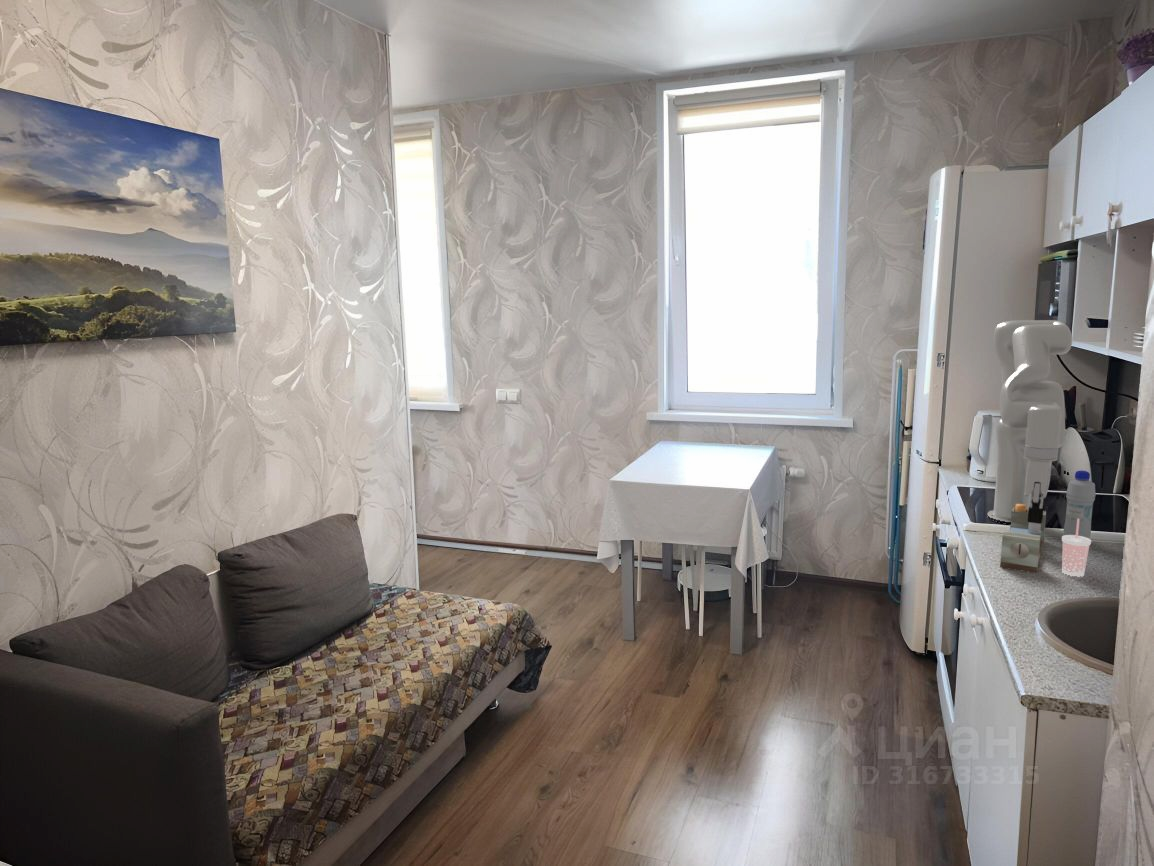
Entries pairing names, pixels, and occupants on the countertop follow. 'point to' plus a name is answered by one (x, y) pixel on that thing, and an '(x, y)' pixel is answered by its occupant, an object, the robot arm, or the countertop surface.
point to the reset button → (1020, 507)
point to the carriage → (1029, 529)
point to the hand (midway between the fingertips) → (1035, 520)
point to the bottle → (1079, 504)
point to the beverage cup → (1075, 553)
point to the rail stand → (1021, 544)
